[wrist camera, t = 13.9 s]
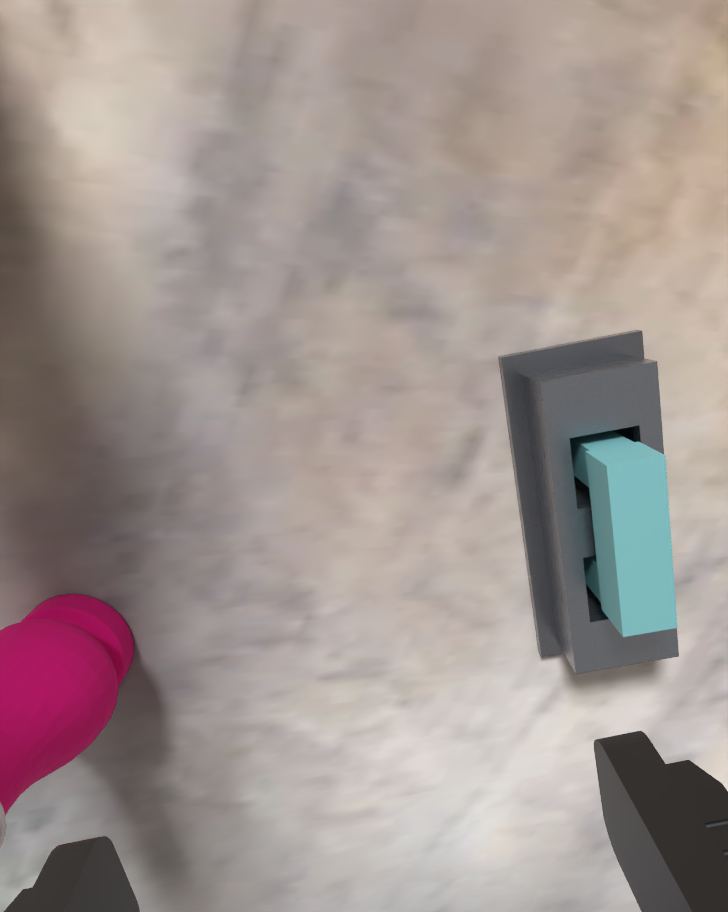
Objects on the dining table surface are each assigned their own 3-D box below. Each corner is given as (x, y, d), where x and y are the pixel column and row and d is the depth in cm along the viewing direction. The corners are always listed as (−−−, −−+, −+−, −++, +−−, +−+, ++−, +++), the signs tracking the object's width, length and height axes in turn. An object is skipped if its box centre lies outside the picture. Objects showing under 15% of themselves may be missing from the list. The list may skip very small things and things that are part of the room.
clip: (557, 432, 32) (606, 465, 26) (604, 423, 32) (665, 455, 26) (574, 573, 34) (622, 637, 28) (618, 566, 34) (677, 627, 28)
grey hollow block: (498, 356, 32) (517, 365, 28) (636, 330, 31) (675, 335, 28) (538, 650, 36) (560, 694, 32) (660, 629, 36) (697, 670, 32)
